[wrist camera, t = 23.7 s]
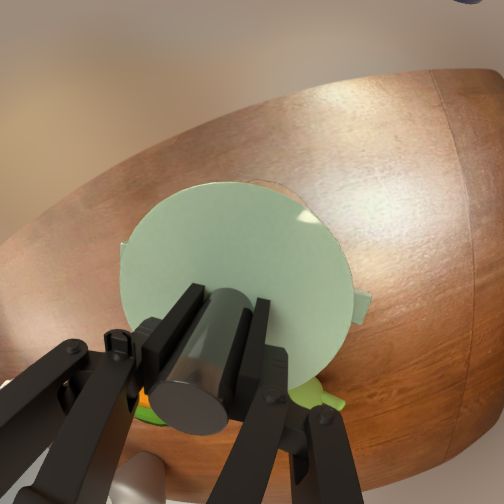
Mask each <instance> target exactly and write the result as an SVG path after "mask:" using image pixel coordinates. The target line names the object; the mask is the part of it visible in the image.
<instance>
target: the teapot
mask: <svg viewBox="0 0 504 504" xmlns="http://www.w3.org/2000/svg"><path fill="white" fill-rule="evenodd" d="M288 394H289V396H290V398H291V399H292V400H293V401H294V402H295V403H297V404H298V405H300V406H303V407H305V408H308V409H310V410H311V408H312V407H314V406H316V405H322V402H324V403H325V404H327V405H329V406H331V407H333V408H335V409H336V410H338V411H340V410H342V409H343V407H344V406H345V401H344V400H342V399H340V398H338V397H336V396H334V395H332V394H330V393H328V392H326V391H324V390H323V387H322V385H321V383H320V382H319V380H318V379H317V378H316V377H315V376H314V377H313V378H311V379H310V380H308V381H307V382H305V383H304V384H302V385H300V386H298V387H296V388H294V389H291V390H289V391H288ZM240 422H241V421H240Z"/></svg>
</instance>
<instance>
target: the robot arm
mask: <svg viewBox="0 0 504 504" xmlns="http://www.w3.org/2000/svg"><path fill="white" fill-rule="evenodd" d="M204 291H205V285H201V284H196V283H192V284H191V285H190V286H189V287H188V289H187V290H186V291H185V292H184V294H183V295H182V296H181V297H180V299H179V300H178V301H177V302H176V303H175V305H174V306H173V307H172V308H171V310H170V311H169V312H168V313H167V315H166V316H165V317H164V318H163V320H162V319H159V318H155V317H152V316H151V317H149V318H147V319H145V320H143V321H142V322H141V324H140V325H139V326H138V327H137V328H136V329H135V331H133V332H132V333H130V332H129V331H126V330H122V329H114V330H110V331H108V332H106V333H105V334H104V342H105V350H106V351H105V352H96V351H89V350H88V346H87V344H86V343H85V342H84V341H82V340H79V339H68V340H65V341H63V342H62V343H61V344H59V345H58V346H56V347H55V348H54V349H52V350H51V351H50V352H48V353H47V354H46V355H44V356H43V357H42V358H40V359H39V360H38V361H36V362H35V363H34V364H32V365H31V366H30V367H28V368H27V369H26V370H25V371H23V372H22V373H21V374H19V375H18V376H17V377H15V378H14V379H13V380H12V381H10V382H9V383H8V384H7V385H5V386H4V387H3V388H1V389H0V498H1V497H2V496H3V495H4V494H5V493H6V492H7V491H8V490H9V489H10V488H11V487H12V485H13V484H14V483H15V482H16V481H17V480H18V479H19V478H20V477H21V476H22V474H23V473H24V472H25V471H26V470H27V469H28V468H29V467H30V466H31V465H32V463H34V461H35V460H36V459H37V458H38V457H39V456H40V455H41V454H42V453H43V451H45V450H46V448H47V447H48V446H49V445H50V444H51V443H52V442H53V441H54V442H53V444H52V446H51V448H50V450H49V452H48V454H47V456H46V458H45V460H44V462H43V464H42V466H41V468H40V470H39V472H38V475H37V477H36V479H35V481H34V483H33V484H32V485H31V486H25V487H22V488H21V489H20V490H19V491H18V493H17V495H16V497H15V499H14V502H13V504H106V501H107V498H108V494H109V491H110V488H111V484H112V481H113V478H114V474H115V471H116V468H117V465H118V462H119V459H120V456H121V453H122V450H123V446H124V444H125V441H126V438H127V435H128V432H129V429H130V426H131V423H132V420H133V417H134V415H135V412H136V409H137V406H138V404H139V400H140V395H139V392H140V391H141V389H142V388H143V386H144V394H145V395H148V393H149V390H150V388H151V387H152V385H153V383H154V382H155V380H156V378H157V377H158V375H159V373H160V372H161V370H162V368H163V367H164V365H165V363H166V362H167V360H168V359H169V357H170V355H171V354H172V352H173V350H174V349H175V347H176V345H177V344H178V342H179V341H180V339H181V337H182V336H183V334H184V332H185V331H186V329H187V327H188V326H189V324H190V323H191V321H192V319H193V318H194V316H195V314H196V313H197V311H198V310H199V308H200V306H201V305H202V303H203V299H204ZM270 302H271V300H268V299H263V298H259V297H257V301H256V305H255V309H254V314H253V318H252V322H251V326H250V330H249V334H248V339H247V343H246V347H245V351H244V355H243V359H242V363H241V367H240V371H239V375H238V380H237V385H236V389H235V394H234V401H233V405H232V409H231V413H230V417H229V419H231V420H236V421H241V422H243V425H242V427H241V429H240V432H239V434H238V436H237V439H236V441H235V443H234V445H233V448H232V450H231V452H230V454H229V457H228V459H227V461H226V463H225V465H224V467H223V470H222V472H221V474H220V476H219V478H218V480H217V482H216V484H215V486H214V488H213V490H212V493H211V495H210V497H209V499H208V501H207V503H206V504H261V502H262V499H263V496H264V493H265V490H266V487H267V484H268V481H269V477H270V474H271V471H272V468H273V464H274V461H275V457H276V454H277V451H278V448H279V449H281V450H283V451H286V452H288V453H289V464H290V478H291V494H292V504H364V501H363V498H362V493H361V488H360V484H359V480H358V476H357V472H356V468H355V464H354V460H353V456H352V452H351V448H350V444H349V440H348V437H347V433H346V429H345V426H344V422H343V418H342V416H341V414H340V412H339V411H337V410H336V409H335V408H333V407H331V406H328V405H316V406H314V407H312V408H311V410H310V409H308V408H305V407H303V406H300V405H298V404H297V403H295V402H294V401H293V400H292V399H291V398H290V396H289V394H288V353H287V352H286V350H285V348H283V347H278V346H273V345H267V344H265V339H266V332H267V325H268V317H269V310H270ZM66 381H68V382H66ZM65 382H66V383H65ZM64 383H65V384H64Z"/></svg>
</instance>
